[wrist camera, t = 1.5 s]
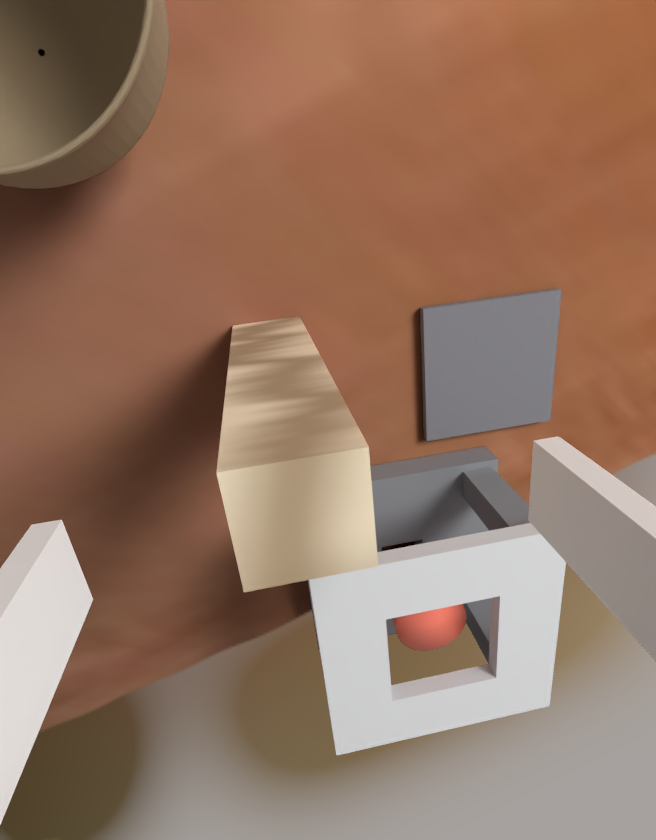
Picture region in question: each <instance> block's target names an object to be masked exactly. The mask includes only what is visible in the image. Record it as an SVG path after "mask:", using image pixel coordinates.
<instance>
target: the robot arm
mask: <svg viewBox="0 0 656 840" xmlns="http://www.w3.org/2000/svg"><path fill="white" fill-rule="evenodd" d="M528 521H529V522H530V523H531V524H532V525H533V526H534V527H535V528H536V529H537V531H538V532H539V533H540V534H541V535H542V536H543V537H544V538H545V539H546V541H547V542H548V543H549V544H550V545H551V546H552V547H553V548H554V549H555V550H556V552H557V553H558V554H559V555H560V556H561V557H562V558H563V559H564V560H565V562H566V563H567V564H568V565H569V566H570V567H571V568H572V569H573V570H574V571H575V573H577V575H578V576H579V577H580V578H581V579H582V580H583V581H584V583H586V585H587V586H588V587H589V588H590V589H591V590H592V591H593V592H594V594H595V595H596V596H597V597H598V598H599V599H600V600H601V601H602V602H603V603H604V605H605V606H606V607H607V608H608V609H609V610H610V611H611V612H612V614H614V616H615V617H616V618H617V619H618V620H619V621H620V622H621V623H622V624H623V625H624V627H625V628H626V629H627V630H628V631H629V632H630V633H631V634H632V636H633V637H634V638H635V639H636V640H637V641H638V642H639V643H640V644H641V645H642V647H643V648H644V649H645V650H646V651H647V652H648V653H649V654H650V655H651V657H652V658H653V659H654V660H655V661H656V506H654V505H653V504H651V503H650V502H649V501H647V500H646V499H644V498H643V497H642V496H640V495H639V494H638V493H636V492H635V491H633V490H632V489H631V488H629V487H628V486H626V485H625V484H624V483H622V482H621V481H620V480H618V479H617V478H615V477H614V476H613V475H611V474H610V473H609V472H607V471H606V470H604V469H603V468H602V467H600V466H599V465H597V464H596V463H595V462H593V461H592V460H591V459H589V458H588V457H586V456H585V455H584V454H582V453H581V452H580V451H578V450H577V449H575V448H574V447H573V446H571V445H570V444H568V443H567V442H566V441H564V440H563V439H562V438H560V437H553V438H547V439H541V440H535V441H534V442H533V456H532V471H531V485H530V499H529V514H528ZM92 601H93V598H92V595H91V593H90V590H89V588H88V585H87V583H86V580H85V577H84V575H83V572H82V570H81V567H80V565H79V562H78V560H77V557H76V555H75V552H74V549H73V547H72V544H71V542H70V539H69V537H68V534H67V532H66V529H65V527H64V524H63V522H62V520H56V521H50V522H44V523H38V524H32V525H31V526H30V528H29V529H28V530H27V532H26V533H25V535H24V536H23V537H22V539H21V540H20V542H19V543H18V544H17V546H16V547H15V549H14V550H13V551H12V553H11V554H10V556H9V557H8V558H7V560H6V561H5V563H4V564H3V565H2V567H1V568H0V824H1V822H2V819H3V817H4V814H5V812H6V809H7V807H8V805H9V802H10V800H11V797H12V795H13V793H14V790H15V787H16V785H17V782H18V780H19V778H20V776H21V773H22V771H23V768H24V766H25V763H26V761H27V759H28V756H29V754H30V751H31V748H32V746H33V744H34V742H35V739H36V737H37V734H38V732H39V730H40V727H41V725H42V722H43V720H44V717H45V715H46V713H47V710H48V708H49V705H50V703H51V700H52V698H53V696H54V693H55V691H56V688H57V686H58V683H59V681H60V679H61V676H62V674H63V671H64V669H65V666H66V664H67V662H68V659H69V657H70V654H71V652H72V650H73V647H74V645H75V642H76V640H77V637H78V635H79V633H80V630H81V628H82V625H83V623H84V620H85V618H86V616H87V613H88V611H89V608H90V606H91V603H92Z"/></svg>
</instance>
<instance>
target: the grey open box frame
mask: <svg viewBox="0 0 656 840" xmlns="http://www.w3.org/2000/svg"><path fill="white" fill-rule="evenodd" d="M370 469H371V482H372V494H373V506H374V518H375V530H376V543H377V555H378V566H377V567H372V568H367V569H362V570H357V571H352V572H347V573H342V574H336V575H331V576H326V577H321V578H316V579H311V580H307V581H308V587H309V593H310V599H311V606H312V612H313V618H314V624H315V631H316V636H317V643H318V648H319V650H320V655H321V661H322V667H323V673H324V680H325V686H326V692H327V699H328V705H329V712H330V718H331V724H332V731H333V737H334V743H335V749H336V755H341V754H345V753H349V752H354V751H358V750H362V749H367V748H371V747H375V746H380V745H384V744H387V743H392V742H397V741H400V740H405V739H409V738H414V737H418V736H423V735H427V734H431V733H435V732H440V731H444V730H448V729H453V728H457V727H461V726H466V725H470V724H474V723H478V722H483V721H487V720H491V719H495V718H500V717H504V716H508V715H512V714H517V713H521V712H525V711H530V710H534V709H539V708H543V707H547V706H549V705H550V695H551V687H552V679H553V670H554V661H555V653H556V644H557V635H558V627H559V618H560V609H561V600H562V591H563V583H564V574H565V565H566V562H565V560H564V559H563V558H562V557H561V556H560V555H559V554H558V553H557V552H556V550H555V549H554V548H553V547H552V546H551V545H550V544H549V543H548V542H547V541H546V539H545V538H544V537H543V536H542V535H541V534H540V533H539V532H538V531H537V529H536V528H535V527H534V526H533V525H532V524H531V523H530V522H529V521H528V514H529V505H528V504H527V503H526V502H525V501H524V500H523V499H522V498H521V497H520V496H519V495H518V494H517V493H516V492H515V491H514V490H513V489H512V488H511V487H510V486H509V484H508V483H507V482H506V481H505V480H504V479H503V478H502V477H501V476H500V475H499V474H498V458H497V457H496V456H495V455H494V454H493V453H492V452H491V451H490V450H489V449H488V448H486V447H485V446H483V447H477V448H471V449H465V450H459V451H454V452H448V453H442V454H436V455H431V456H425V457H419V458H413V459H408V460H402V461H396V462H390V463H384V464H379V465H373V466H370ZM412 541H414V544H415V545H412V546H407V547H402V548H397V549H391V550H386V551H382V547H385V546H391V545H396V544H401V543H406V542H412ZM459 604H463V606H464V608H465V610H466V623H467V625H468V627H469V629H470V630H471V632H472V634H473V636H474V638H475V640H476V641H477V643H478V645H479V647H480V649H481V651H482V653H483V654H484V656H485V658H486V660H487V662H488V664H487V665H482V666H478V667H473V668H469V669H464V670H459V671H455V672H450V673H446V674H441V675H437V676H432V677H428V678H424V679H419V680H414V681H410V682H405V683H400V684H396V685H391V679H390V665H389V653H388V640H387V635H391V634H396V633H397V631H396V628H395V626H394V623H393V620H392V618H396V617H401V616H406V615H411V614H416V613H421V612H425V611H430V610H435V609H440V608H445V607H450V606H454V605H459Z"/></svg>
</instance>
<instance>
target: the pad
mask: <svg viewBox="0 0 656 840" xmlns="http://www.w3.org/2000/svg"><path fill="white" fill-rule="evenodd" d="M560 301H561V290H560V289H549V290H542V291H534V292H527V293H520V294H513V295H506V296H499V297H492V298H485V299H478V300H471V301H464V302H457V303H450V304H442V305H435V306H428V307H421V308H420V322H421V356H422V389H423V423H424V438H425V440H426V441H431V440H437V439H443V438H449V437H455V436H461V435H467V434H472V433H478V432H484V431H490V430H496V429H502V428H508V427H514V426H519V425H525V424H531V423H537V422H543V421H549V420H550V418H551V406H552V394H553V383H554V371H555V359H556V348H557V336H558V324H559V313H560Z"/></svg>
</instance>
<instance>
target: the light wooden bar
mask: <svg viewBox="0 0 656 840" xmlns="http://www.w3.org/2000/svg"><path fill="white" fill-rule="evenodd" d="M216 473H217V477H218V482H219V486H220V491H221V495H222V499H223V504H224V508H225V512H226V517H227V521H228V525H229V530H230V534H231V538H232V543H233V547H234V552H235V556H236V560H237V565H238V569H239V573H240V578H241V582H242V586H243V591H244V592H249V591H254V590H259V589H265V588H270V587H275V586H280V585H285V584H290V583H295V582H300V581H306V580H311V579H316V578H321V577H326V576H331V575H336V574H342V573H347V572H352V571H357V570H362V569H367V568H372V567H377V566H378V555H377V543H376V530H375V518H374V506H373V494H372V482H371V469H370V457H369V447H368V445H367V443H366V441H365V439H364V437H363V435H362V433H361V432H360V430H359V428H358V426H357V424H356V422H355V420H354V418H353V416H352V415H351V413H350V411H349V409H348V407H347V405H346V403H345V401H344V400H343V398H342V396H341V394H340V392H339V390H338V388H337V386H336V384H335V383H334V381H333V379H332V377H331V375H330V373H329V371H328V369H327V367H326V366H325V364H324V362H323V360H322V358H321V356H320V354H319V352H318V350H317V349H316V347H315V345H314V343H313V341H312V339H311V337H310V335H309V333H308V332H307V330H306V328H305V326H304V324H303V322H302V320H301V318H300V316H298V317H291V318H283V319H276V320H269V321H262V322H255V323H248V324H240V325H233V327H232V336H231V345H230V354H229V363H228V372H227V381H226V390H225V399H224V409H223V418H222V427H221V436H220V445H219V454H218V463H217V472H216Z"/></svg>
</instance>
